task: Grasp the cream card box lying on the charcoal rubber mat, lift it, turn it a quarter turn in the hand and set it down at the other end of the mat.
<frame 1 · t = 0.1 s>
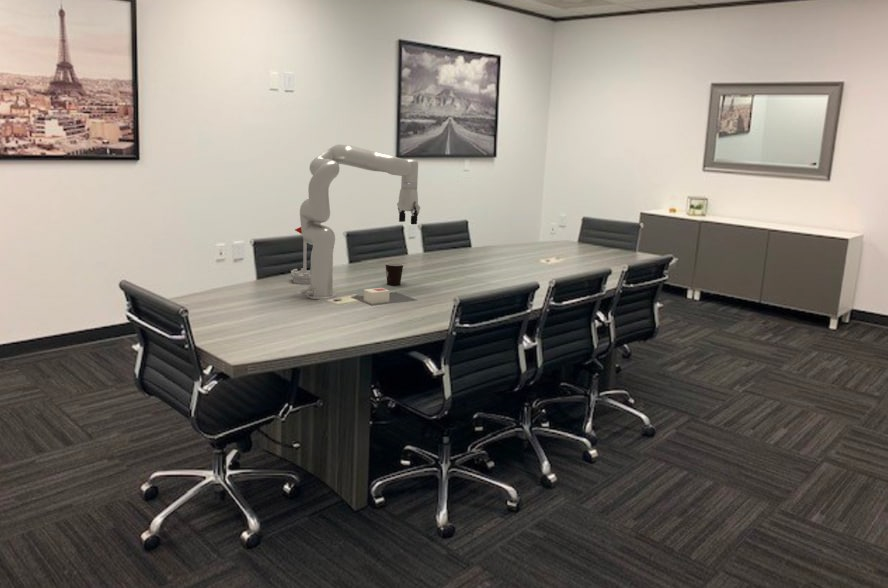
hand: (407, 222, 341), 31 cm above the table, tool pointing down, fingers open, 9 cm apart
mat: (384, 299, 321), on the table
flag stand: (304, 282, 350), on the table
coffee mug: (393, 284, 355), on the table
card box: (376, 301, 315), point 1 cm above the table, touching mat
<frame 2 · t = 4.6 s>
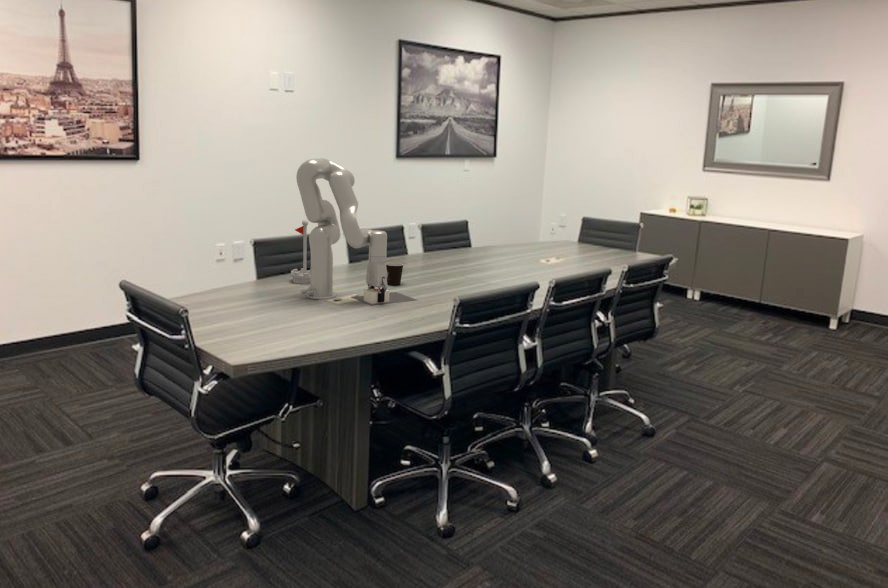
hand: (376, 299, 314), 1 cm above the table, tool pointing down, fingers closed on card box, 6 cm apart
card box: (376, 301, 315), point 1 cm above the table, touching gripper, mat
everything else where it was.
when the fingers open (2 cm above the table, at t = 10.0 s): card box drops 1 cm, resting on mat.
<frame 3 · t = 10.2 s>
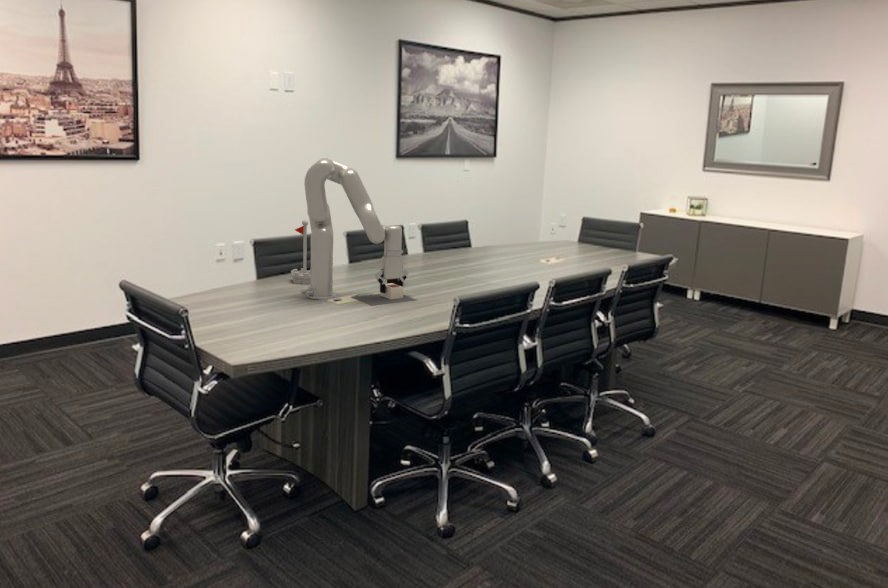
hand: (391, 291, 325), 3 cm above the table, tool pointing down, fingers open, 8 cm apart
card box: (391, 296, 325), point 1 cm above the table, touching mat
everything else where it was.
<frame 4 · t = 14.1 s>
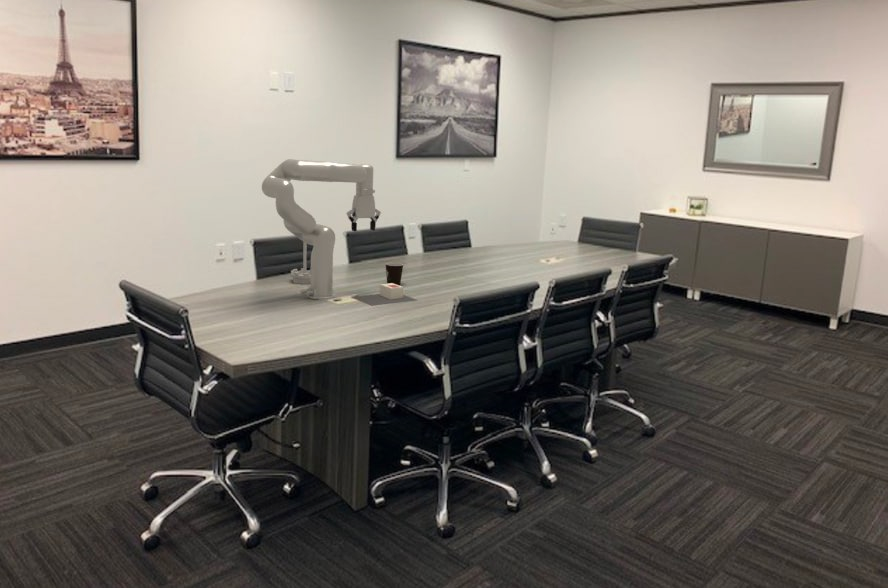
hand: (363, 230, 329), 28 cm above the table, tool pointing down, fingers open, 9 cm apart
nothing on the table moved.
at the end: card box inside the target area on the mat (0.0 cm from its centre), point 0.6 cm above the mat's base; card box tilted 0°; card box touching mat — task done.
